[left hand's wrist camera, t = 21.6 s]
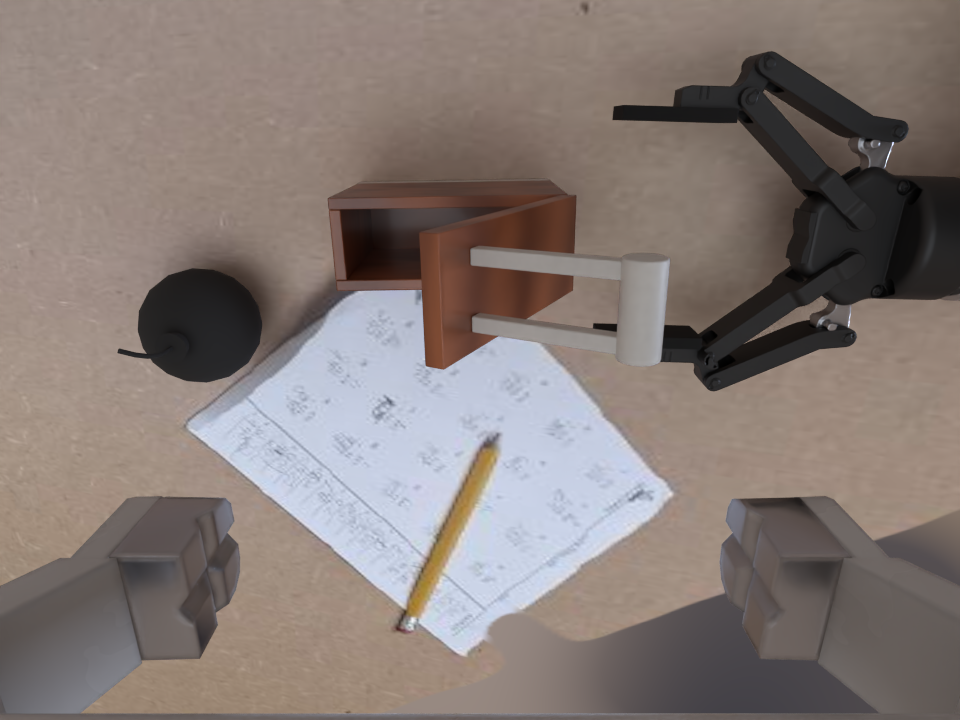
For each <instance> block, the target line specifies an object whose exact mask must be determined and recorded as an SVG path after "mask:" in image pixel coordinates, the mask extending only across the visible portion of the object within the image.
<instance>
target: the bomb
mask: <svg viewBox="0 0 960 720" xmlns="http://www.w3.org/2000/svg"><path fill="white" fill-rule="evenodd" d="M261 329H262V320H261V316H260V312H259V307H258V305H257V303H256V302H255V300H254V299H253V297H252V295H251V294H250V292H249V291H248V290H247V289H246V288H245V287H244V286H243V285H241V284H240V283H239V282H238V281H237V280H235V279H234V278H232V277H230V276H228V275H225V274H223V273H220V272H218V271H215V270H206V269H189V270H185V271H182V272H178V273H175V274H171V275H168V276H167V277H166V278H164V279H163V280H162V281H161V282H159V283H158V284H157V285H156V286H155V287H153V288H152V289H151V290H150V291H149V293H148V295H147V296H146V298H145V300H144V302H143V304H142V306H141V308H140V310H139V320H138V333H139V336H140V340H141V343H142V346H143V349H144V350H145V352H146V353H147V354H143V353H135V352H131V351H127V350H123V349H119V350H118V352H117V353H119V354H124V355H128V356H132V357H137V358H146V359H151V360H152V361H153V363H154V364H156V365H157V366H158V367H160V368H161V369H162V370H163V371H165V372H166V373H167V374H170V375H172V376H175V377H177V378H180V379H182V380H186V381H194V382H211V381H214V380H218V379H222V378H226V377H229V376H231V375H232V374H234V373H235V372H236V371H238V370H239V369H240V368H242V367H243V366H244V365H246V364H247V363H248V362H249V360H250V359H251V357H252V356H253V354H254V352H255V351H256V349H257V347H258V345H259V344H260V336H261Z"/></svg>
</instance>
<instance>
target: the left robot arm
mask: <svg viewBox="0 0 960 720" xmlns="http://www.w3.org/2000/svg"><path fill="white" fill-rule="evenodd" d="M233 522H234V517H233V512H232V507H231V503H230V502H229V501H228V500H227V499H226V498H205V497H162V496H150V497H132V498H128V499H126V500H125V501H124V502H123V503H122V505H121V506H120V507H119V508H118V509H117V510H116V511H115V512H114V513H113V514H112V515H111V516H110V517H109V518H108V519H107V520H106V521H105V522H104V523H103V524H102V525H101V526H100V528H99V529H98V530H97V531H96V532H95V533H94V534H93V535H92V536H91V537H90V538H89V539H88V540H87V541H86V542H85V543H84V544H83V545H82V546H81V547H80V548H79V549H78V551H77V552H76V553H75V554H74V555H73V556H72V557H71V558H59V559H57V560H55V561H53V562H51V563H48V564H46V565H44V566H42V567H40V568H38V569H36V570H33V571H31V572H29V573H27V574H25V575H23V576H21V577H19V578H16V579H14V580H12V581H10V582H8V583H6V584H4V585H1V586H0V720H960V586H958V585H956V584H954V583H952V582H950V581H948V580H946V579H944V578H941V577H939V576H937V575H935V574H933V573H931V572H929V571H926V570H924V569H922V568H920V567H918V566H916V565H914V564H912V563H909V562H907V561H905V560H903V559H901V558H889V557H888V556H887V555H886V554H885V553H884V552H883V550H882V549H881V548H880V547H879V546H878V545H877V544H876V543H875V542H874V541H873V540H872V539H871V538H870V537H869V536H868V535H867V534H866V533H865V532H864V531H863V530H862V528H861V527H860V526H859V525H858V524H857V523H856V522H855V521H854V520H853V519H852V518H851V517H850V516H849V515H848V514H847V513H846V512H845V511H844V510H843V509H842V508H841V506H840V505H839V504H838V503H837V502H836V501H835V500H834V499H831V498H829V497H827V496H814V497H794V498H751V499H732V500H731V502H730V504H729V506H728V510H727V516H726V522H727V524H728V526H729V527H730V529H731V531H732V532H733V533H732V534H731V535H730V536H729V537H728V538H727V539H726V540H725V541H724V543H723V544H722V547H721V555H720V571H721V580H722V583H723V586H724V590H725V593H726V595H727V597H728V599H729V601H730V603H731V604H732V605H734V606H735V607H737V608H738V609H740V610H741V611H743V612H744V617H743V623H742V625H743V627H744V629H745V631H746V633H747V635H748V637H749V639H750V640H751V642H752V644H753V646H754V648H755V650H756V652H757V654H758V655H759V657H760V659H788V660H819V661H818V663H819V664H820V665H821V666H822V667H824V668H825V669H826V670H827V671H829V672H830V673H831V674H832V675H834V676H835V677H836V678H837V679H838V680H840V681H841V682H842V683H843V684H845V685H846V686H847V687H848V688H849V689H851V690H852V691H853V692H854V693H856V694H857V695H858V696H859V697H861V698H862V699H863V700H864V701H865V702H867V703H868V704H869V705H871V706H872V707H873V708H874V709H875V710H877V711H878V712H879V713H880V714H80V713H81V712H82V711H84V710H85V709H86V708H87V707H89V706H90V705H91V704H92V703H93V702H95V701H96V700H97V699H98V698H100V697H101V696H102V695H103V694H105V693H106V692H107V691H108V690H110V689H111V688H112V687H113V686H114V685H116V684H117V683H118V682H119V681H121V680H122V679H123V678H124V677H126V676H127V675H128V674H129V673H131V672H132V671H133V670H134V669H136V668H137V667H138V666H139V665H140V664H142V661H141V660H171V659H200V657H201V656H202V654H203V652H204V650H205V648H206V646H207V644H208V642H209V640H210V639H211V637H212V635H213V633H214V631H215V629H216V627H217V625H218V623H217V618H216V612H217V611H219V610H220V609H222V608H223V607H225V606H226V605H228V604H229V603H230V601H231V598H232V596H233V594H234V592H235V590H236V587H237V582H238V578H239V573H240V553H239V547H238V544H237V543H236V542H235V540H234V539H233V538H232V537H231V536H230V535H229V534H228V533H227V532H228V531H229V529H230V527H231V526H232V524H233Z"/></svg>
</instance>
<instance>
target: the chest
mask: <svg viewBox="0 0 960 720" xmlns="http://www.w3.org/2000/svg"><path fill="white" fill-rule="evenodd" d="M560 195H568V194H566V193H565V192H564V191H563V190H561V189H560V188H559V187H558V186H556V185H555V184H554V183H552V182H551V181H550V180H549V179H506V180H445V181H385V182H360V183H358V184H357V185H354V186H352V187H350V188H348V189H346V190H344V191H342V192H340V193H338V194H336V195H334V196H332V197H329V198H328V206H329V216H330V226H331V237H332V247H333V257H334V267H335V277H336V287H337V291H371V290H422V282H421V261H420V241H419V232H422V231H426V230H430V229H433V228H437V227H441V226H445V225H449V224H452V223H456V222H460V221H464V220H468V219H472V218H475V217H479V216H483V215H487V214H491V213H495V212H498V211H502V210H506V209H510V208H514V207H517V206H521V205H525V204H529V203H533V202H537V201H540V200H544V199H548V198H552V197H556V196H560Z"/></svg>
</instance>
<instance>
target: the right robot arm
mask: <svg viewBox="0 0 960 720" xmlns="http://www.w3.org/2000/svg"><path fill="white" fill-rule="evenodd" d="M741 71H742V72H741V74H740V76H739V78H738V80H737V81H736V82H735V83H734V84H733V85H732V86H730V87H729V86H696V85H691V86H686V87H683V88H680V89H677V90H675V97H674V105H673V107H670V106H636V105H621V106H614V111H613V120H633V121H667V122H701V123H737V119H738V120H739V121H740V122H741V123H742V124H743V125H744V127H745V128H746V129H747V130H748V131H749V132H750V133H751V134H752V135H753V136H754V138H755V139H756V140H757V141H758V142H759V143H760V144H761V145H762V146H763V147H764V149H765V150H766V151H767V152H768V153H769V154H770V155H771V156H772V157H773V159H774V160H775V161H776V162H777V163H778V164H779V165H780V166H781V167H782V168H783V170H784V171H785V172H786V173H787V174H788V175H789V176H790V177H791V178H792V182H793V184H794V185H795V186H796V187H797V188H798V189H799V191H800V192H801V193H802V194H803V195H804V196H805V197H806V199H805V200H804V202H803V203H802V204H801V206H800V208H799V209H796V208H795V213H794V218H793V229H794V234H793V236H792V238H791V240H790V243H789V245H788V248H787V253H786V258H788V259H789V262H790V265H791V266H790V267H788V268H787V269H786V270H784V271H783V272H781V273H780V274H778V275H777V276H776V277H774V279H773V281H772V283H771V284H770V285H768V286H767V287H766V288H764V289H763V290H761V291H760V292H758V293H757V294H756V295H754V296H753V297H751V298H750V299H748V300H747V301H745V302H744V303H743V304H741V305H740V306H738V307H737V308H735V309H734V310H733V311H731V312H730V313H728V314H727V315H725V316H724V317H722V318H721V319H720V320H718V321H717V322H715V323H714V324H712V325H711V326H710V327H708V328H707V329H705V330H704V331H702V332H701V333H699V334H697V333H696V332H695V331H694V330H693V329H692V328H691V327H690V326H676V325H664V333H663V344H662V355H661V361H660V362H684V363H694V374H695V375H696V376H697V377H698V379H699V380H700V381H701V382H702V383H703V384H704V385H705V387H706V388H707V389H708V390H710V391H717V390H720V389H722V388H725V387H727V386H730V385H732V384H735V383H737V382H740V381H742V380H745V379H747V378H750V377H752V376H754V375H757V374H759V373H762V372H764V371H767V370H769V369H772V368H774V367H777V366H779V365H782V364H784V363H787V362H789V361H792V360H794V359H796V358H799V357H801V356H804V355H806V354H809V353H811V352H814V351H816V350H819V349H827V348H839V347H848V346H850V345H852V344H853V343H854V342H855V341H856V338H857V336H856V333H855V331H853V330H852V329H850V328H849V320H850V312H851V304H854V303H856V302H858V301H860V300H863V299H868V298H877V299H914V300H936V299H942V300H952V301H960V178H956V177H932V176H898V175H892V174H890V173H888V172H887V171H886V170H884V169H885V166H886V163H887V160H888V157H889V154H890V152H891V149H892V146H893V143H895V142H900V141H902V140H903V139H904V138H905V137H906V136H907V134H908V130H909V128H908V125H907V123H906V122H904V121H902V120H896V119H890V118H883V117H877V116H873V115H871V114H870V113H868V112H867V111H865V110H864V109H862V108H861V107H859V106H857V105H856V104H854V103H853V102H851V101H850V100H848V99H847V98H845V97H844V96H842V95H840V94H839V93H837V92H836V91H834V90H833V89H831V88H830V87H828V86H827V85H825V84H824V83H822V82H820V81H819V80H817V79H816V78H814V77H813V76H811V75H810V74H808V73H807V72H805V71H804V70H802V69H800V68H799V67H797V66H796V65H794V64H793V63H791V62H790V61H788V60H787V59H785V58H783V57H782V56H780V55H779V54H777V53H775V52H773V51H771V52H765V53H762V54H758V55H754V56H750V57H748V58H746V59H745V61H744V62H743V64H742V69H741ZM764 89H765V90H767V91H768V92H770V93H771V94H773V95H775V96H776V97H778V98H779V99H781V100H782V101H784V102H786V103H787V104H789V105H790V106H792V107H793V108H795V109H797V110H798V111H800V112H801V113H803V114H804V115H806V116H808V117H809V118H811V119H812V120H814V121H815V122H817V123H819V124H820V125H822V126H823V127H825V128H827V129H828V130H830V131H831V132H833V133H835V134H837V135H839V136H842V137H846V138H850V140H849V142H848V145H849V147H850V149H851V151H852V152H854V153H856V154H858V155H859V157H860V159H861V163H860V166H859V167H856V168H854V169H852V170H850V171H849V172H847V173H845V174H844V175H842V176H840V175H839V174H838V173H837V172H836V171H835V170H834V169H832V168H830V167H829V166H827V165H826V164H825V162H824V161H823V160H822V159H821V158H820V157H819V156H818V155H817V153H816V152H815V151H814V150H813V149H812V148H811V147H810V145H809V144H808V143H807V142H806V141H805V140H804V139H803V138H802V136H801V135H800V134H799V133H798V132H797V131H796V130H795V128H794V127H793V126H792V125H791V124H790V123H789V122H788V121H787V119H786V118H785V117H784V116H783V115H782V114H781V113H780V112H779V110H778V109H777V108H776V107H775V106H774V105H773V104H772V102H771V101H770V100H769V99H768V98H767V97H766V96H765V95H764V93H763V91H764ZM803 281H804V282H803ZM820 296H823V297H824V298H825V299H827V300H829V302H828V305H827V307H826V308H825V309H824V310H822V311H819V312H816V313H812V314H811V315H810V320H806V321H801V322H797V323H794V324H791V325H789V326H786V327H784V328H781V329H779V330H777V331H774V332H772V333H769V334H767V335H765V336H762V337H760V338H757V339H755V340H752V341H750V342H748V343H745V342H747V341H748V340H750V339H751V338H753V337H754V336H756V335H757V334H759V333H760V332H762V331H763V330H765V329H766V328H768V327H769V326H770V325H772V324H773V323H775V322H776V321H778V320H779V319H781V318H782V317H784V316H785V315H787V314H788V313H790V312H791V311H793V310H794V309H795V308H797V307H800V306H805V305H808V304H810V303H811V302H813V301H814V300H816V299H817V298H819V297H820ZM593 329H599V330H606V331H613V332H617V324H597V323H593ZM744 343H745V344H744Z"/></svg>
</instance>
